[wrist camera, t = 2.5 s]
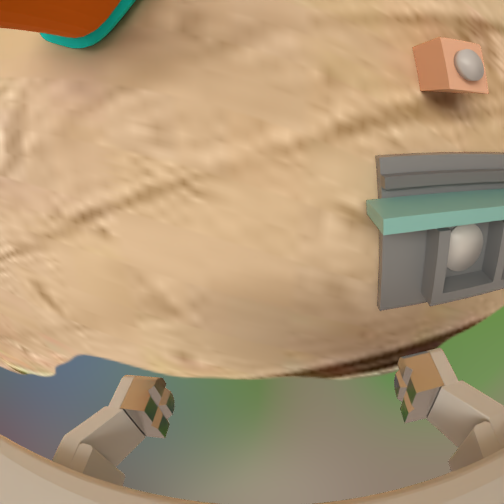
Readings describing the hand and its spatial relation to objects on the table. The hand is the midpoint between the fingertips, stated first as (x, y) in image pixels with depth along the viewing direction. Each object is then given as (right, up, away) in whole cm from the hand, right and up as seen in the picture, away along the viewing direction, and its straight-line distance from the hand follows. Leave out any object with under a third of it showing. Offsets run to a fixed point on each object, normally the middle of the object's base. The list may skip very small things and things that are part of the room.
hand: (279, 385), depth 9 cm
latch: (+17, +9, +12) cm, 23 cm away
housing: (+23, +7, +14) cm, 28 cm away
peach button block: (+15, +20, +9) cm, 26 cm away
